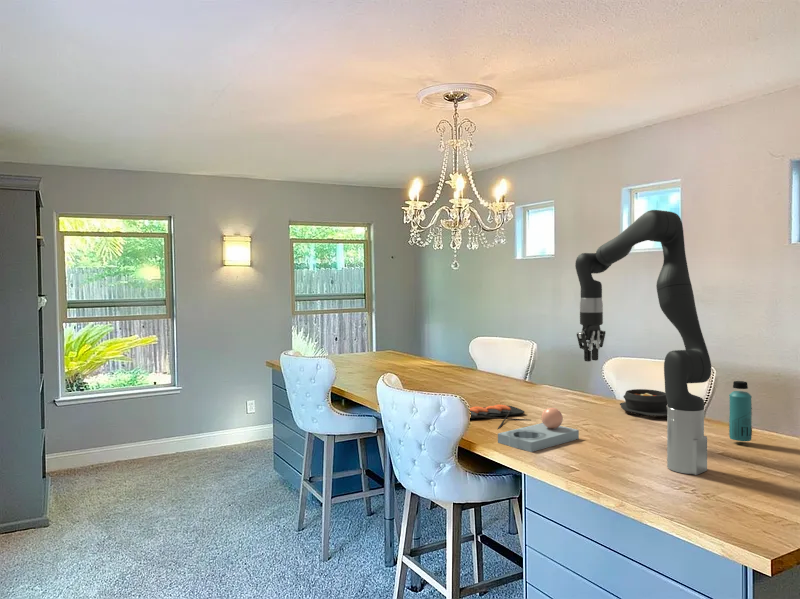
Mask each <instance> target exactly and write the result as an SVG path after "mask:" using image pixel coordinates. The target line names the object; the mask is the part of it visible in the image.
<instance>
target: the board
mask: <svg viewBox="0 0 800 599" xmlns="http://www.w3.org/2000/svg"><path fill="white" fill-rule="evenodd" d="M579 431H580V430H579V429H575V428H572V427H568V426H562V425H560V426H559V427H557V428H555V429H551V428H548V427H546V426H545V425H544V424H543V422H541V423H537V424H533V425H529V426H525V427H520V428H515V429H511V430H507V431H504V432H503V431H502V432H498V433H497V443H498V444H502V445H505V446H509V447H511V448H514V449H520V450H522V451H527V452H530V453H533V452H537V451H540V450H544V449H547V448H551V447H554V446H558V445H561V444H564V443H565V444H566V443H569V442H572V441H573V442H574V441H576V439H577V440H579V438H580V437H579V435H580V433H579Z"/></svg>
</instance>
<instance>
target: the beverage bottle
mask: <svg viewBox="0 0 800 599" xmlns="http://www.w3.org/2000/svg"><path fill="white" fill-rule="evenodd" d="M732 388H733V389H738V390H733V391H732V392H731V393H729V419H728V426H729V427H728V435H729V438H730V439H731V440H733V441H737V442H751V441H752V438H753V437H752V436H753V426H752V424H753V421H752V420H753V419H752V416H753V411H752V410H753V407H752V399H753V398H752V395H751V394H750V393H749V392H748V391H743V390H747V389H749V387H748V382H747V381H742V380H735V381H733V385H732Z"/></svg>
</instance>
